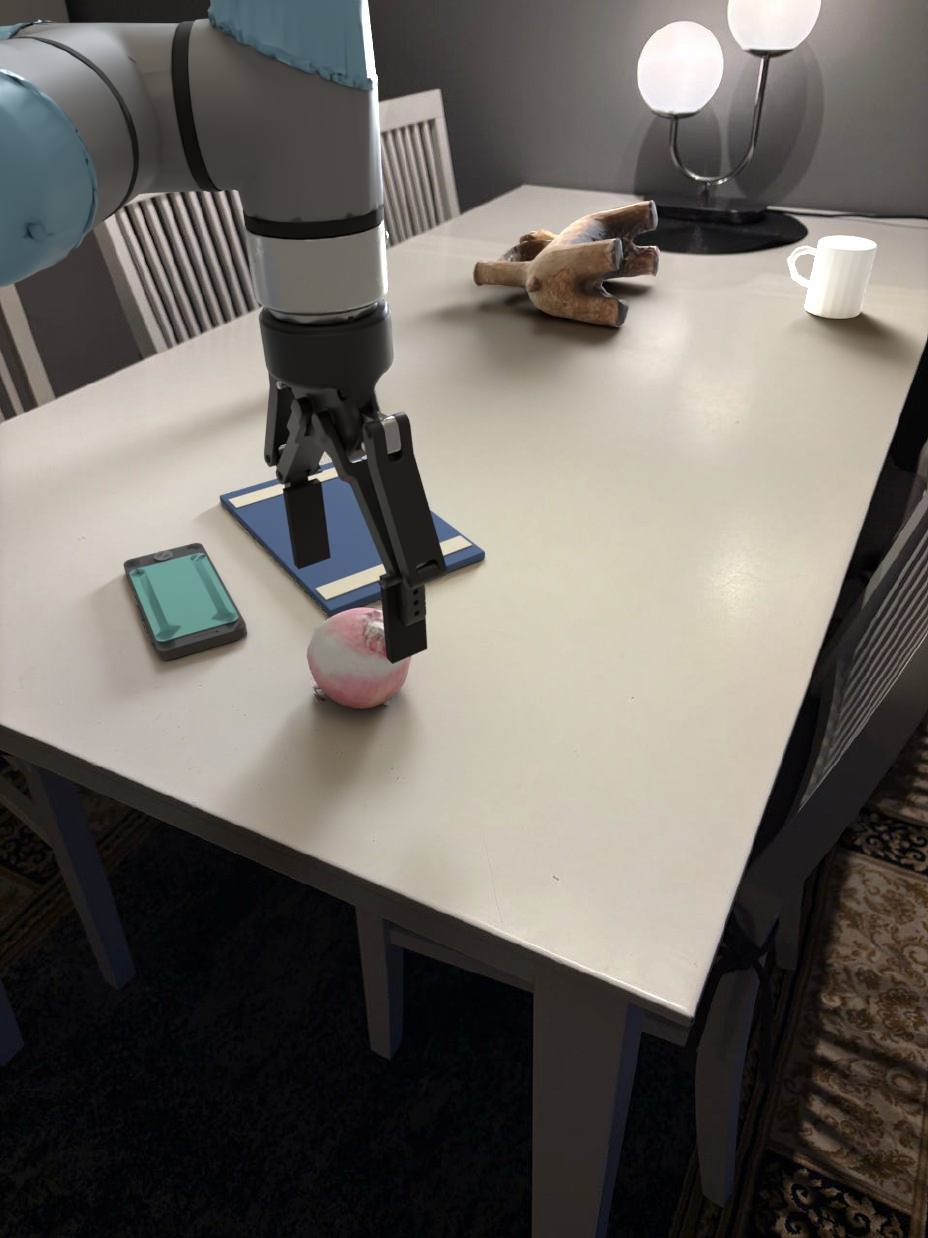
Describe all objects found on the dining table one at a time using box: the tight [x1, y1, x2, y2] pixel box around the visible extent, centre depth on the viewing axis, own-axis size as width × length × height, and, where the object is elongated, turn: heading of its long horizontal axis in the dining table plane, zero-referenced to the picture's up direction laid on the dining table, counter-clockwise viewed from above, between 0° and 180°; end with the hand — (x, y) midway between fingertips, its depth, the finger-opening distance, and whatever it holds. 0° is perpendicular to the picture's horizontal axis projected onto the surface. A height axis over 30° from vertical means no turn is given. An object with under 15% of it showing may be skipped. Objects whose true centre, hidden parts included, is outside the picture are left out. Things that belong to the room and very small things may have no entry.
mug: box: [786, 235, 878, 320], centre depth 136 cm, size 8×12×10 cm, turn 74°
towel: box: [219, 457, 486, 618], centre depth 88 cm, size 24×16×1 cm, turn 35°
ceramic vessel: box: [472, 199, 661, 328], centre depth 142 cm, size 13×31×25 cm
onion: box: [306, 607, 412, 710], centre depth 67 cm, size 8×8×7 cm
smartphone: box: [122, 542, 248, 661], centre depth 78 cm, size 7×1×15 cm
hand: (356, 604), depth 64 cm, fingers open, 13 cm apart
